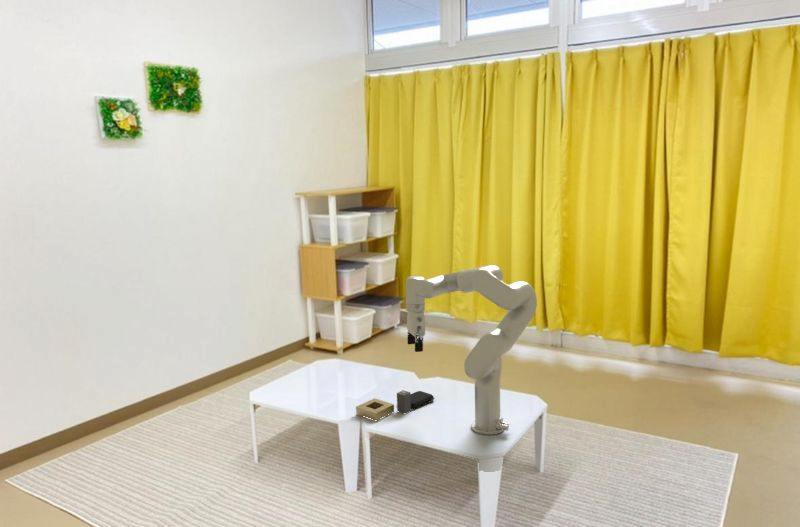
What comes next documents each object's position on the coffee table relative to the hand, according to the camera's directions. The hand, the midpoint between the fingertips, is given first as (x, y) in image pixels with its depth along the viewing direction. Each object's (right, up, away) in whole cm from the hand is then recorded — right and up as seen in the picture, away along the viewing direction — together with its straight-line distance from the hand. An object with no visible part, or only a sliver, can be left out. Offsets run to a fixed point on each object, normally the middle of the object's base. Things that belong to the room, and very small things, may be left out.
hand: (415, 347), depth 226 cm
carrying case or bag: (+1, -26, +13) cm, 29 cm away
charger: (-4, -27, +5) cm, 28 cm away
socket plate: (-16, -28, +3) cm, 32 cm away
